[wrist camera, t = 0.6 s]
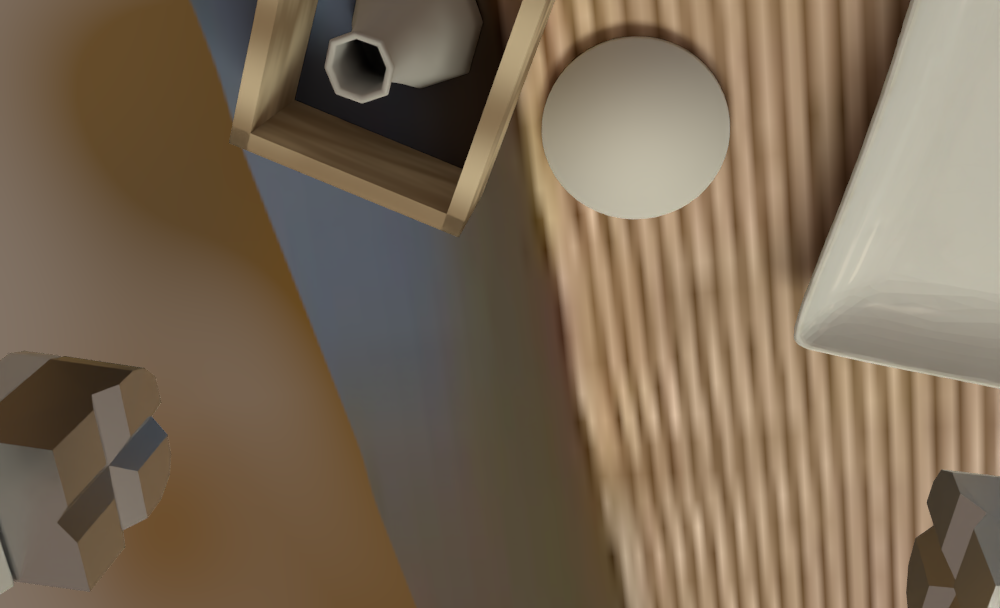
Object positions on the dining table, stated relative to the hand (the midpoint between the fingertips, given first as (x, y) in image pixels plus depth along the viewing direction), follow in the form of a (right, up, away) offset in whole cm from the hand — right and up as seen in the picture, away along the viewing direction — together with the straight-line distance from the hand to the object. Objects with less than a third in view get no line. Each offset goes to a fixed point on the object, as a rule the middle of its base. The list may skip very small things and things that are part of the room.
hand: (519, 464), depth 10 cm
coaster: (+7, +11, +40) cm, 42 cm away
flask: (-5, +17, +40) cm, 44 cm away
